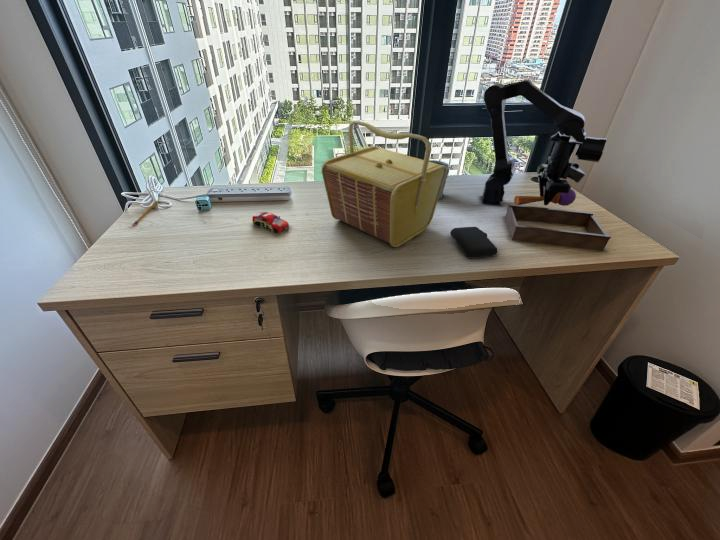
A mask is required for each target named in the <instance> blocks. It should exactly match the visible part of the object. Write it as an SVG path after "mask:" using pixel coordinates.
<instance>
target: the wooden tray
mask: <svg viewBox="0 0 720 540" xmlns="http://www.w3.org/2000/svg"><path fill="white" fill-rule="evenodd" d="M504 218H505V222H506V225H507V229H508V233H509V236H510V238H511V241H516V242H522V243H523V242H525V243H531V244H532V243H533V244H540V245H549V246H557V247H564V248H565V247H566V248H574V249H581V250H582V249H583V250H590V251H597V252H598V251H599V252H604V250H605V248H606V246H607V245H608V243H609V242H610V240H611V238H612V236H611V235H609V234H608V233H607V232H606V231H605V229H604V228H603V226H602V225H601V224H600V223H599V221H598V220H597V219H596V217H595V216H594V213H593V212H591V211H590V212H589V211H579V210H570V209H561V208H553V207H552V208H550V207H542V206H541V207H540V206H531V205H524V204H522V205H515V204H513V203H512V204H511V203H508V207H507V210H506V212H505V216H504ZM517 220H519V221H527V222H536V223H545V224H555V225H563V226H573V227H580V228H581V227H582V228H584V229H585V231H586V232H583V231H573V230H564V229H558V228H557V229H555V228H547V227H539V226H531V225H530V226H529V225H521V224H518V221H517Z"/></svg>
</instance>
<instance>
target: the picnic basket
mask: <svg viewBox="0 0 720 540" xmlns="http://www.w3.org/2000/svg"><path fill="white" fill-rule="evenodd" d="M355 125H358V126H362V127H365V128H366V129H367V130H368V131H370V132H371V134H372V133H373V134H374V135H376V136H378V137H381V138H384V139H389V140H405V139H408V138H410V139H414V140H415V139H416V140H419V141H422V142H423V143H424V144H425V152H424V157H423V159H422V158H417V157H414V156H410V155H407V154H403V153H401V152H396V151H393V150H389V149H386V148H383V147H379V146H376V145H371V146H367V147H365V148H361V149H358V150H354V149H355V147H354V132H353V129H354V126H355ZM347 129H348V144H349V145H348V147H349V152H348V153H345V154H342V155H337V156H335V157H332V158H328V159H327V160H325V161H324V162H323V163H322V165H321V175H322V181H323V184H324V188H325V193H326V197H327V201H328V206H329V210H330V213H331V216H332V218H333V219H335V220H337V221H341V222H343V223H345V224H347V225H349V226H351V227H353V228H356V229H358V230H360V231H362V232H364V233H366V234H368V235H370V236H373V237H375V238H377V239H379V240H381V241H383V242H385V243H387V244H389V245H390V246H391V247H392V248H398V247H400V246H402V245H403V244H405V243H406V242H408V241H410V240H411V239H413V238H414V237H416V236H418V235H419V234H421V233H422V232H424V231H425V230H426V229H428V227H429V226H430V224H431V223H432V220H433V217H434V214H435V210H436V208H437V205H438V201H439V199H438V198H439V195H440V192H441V189H442V186H443V183H444V179H445V176H446V173H447V167H446V166H444V165H439V164H436V163H432V162H429V160H430V158H431V157H430V156H431V152H432V145H431V142H430V140H429V139H428V138H427V137H426V136H424V135H421V134H416V133H411V132H390V131H385V130H383V129H380V128H379V127H376V126H374V125H372V124H370V123H368V122H364V121H362V120H352V121H351V122H350V123H349V125H348V128H347Z"/></svg>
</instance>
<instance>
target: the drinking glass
mask: <svg viewBox="0 0 720 540" xmlns="http://www.w3.org/2000/svg"><path fill="white" fill-rule="evenodd" d="M429 162H432V163H436V164H439V165H444V166H446V167H447V173H446V176H445V179H444V183H443V186H442V189H441V192H440V195H439V198H438V200H440V199H442V197H443V194H444V190H445V187H446V182H447V179H448V176H449V172H450V170H451V169H450V168H451V165H450V164H449V163H447V162H445V161H441V160H436V159H431V160H430V159H429Z"/></svg>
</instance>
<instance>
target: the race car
mask: <svg viewBox="0 0 720 540" xmlns="http://www.w3.org/2000/svg"><path fill="white" fill-rule="evenodd" d="M252 223H253V225H255V226H256V227H257V228H262V229H265V230H268V231H270V232H273V233H274V234H276V235H277V234H282V233H284V232H287V231H288V230H289V229H290V224H289V222H288V221H286V220H284V219H282V218H281V216H280V215H279V216H278V215H277V214H274V213H271V212H268V211H260V212H256V213H255V214H253V215H252Z"/></svg>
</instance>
